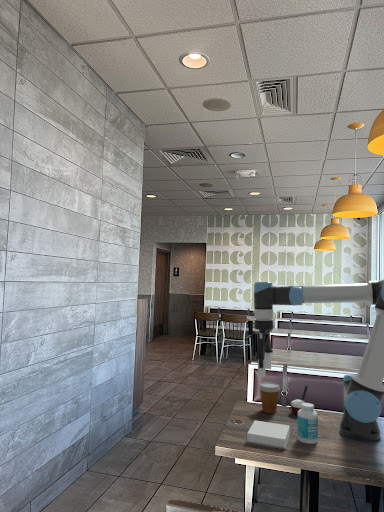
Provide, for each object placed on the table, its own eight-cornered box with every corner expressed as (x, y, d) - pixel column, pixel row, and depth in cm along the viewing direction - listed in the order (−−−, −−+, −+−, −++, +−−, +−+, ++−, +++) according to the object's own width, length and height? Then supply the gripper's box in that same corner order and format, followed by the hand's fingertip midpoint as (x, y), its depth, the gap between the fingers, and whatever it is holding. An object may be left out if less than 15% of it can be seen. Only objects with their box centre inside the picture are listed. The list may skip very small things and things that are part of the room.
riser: (290, 434, 150) (290, 425, 150) (285, 449, 136) (285, 439, 137) (254, 428, 155) (254, 420, 155) (246, 442, 141) (246, 433, 142)
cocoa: (290, 416, 171) (289, 389, 171) (287, 411, 177) (286, 385, 177) (311, 416, 170) (310, 389, 171) (307, 410, 176) (306, 385, 177)
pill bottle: (310, 446, 139) (310, 409, 140) (293, 440, 145) (293, 404, 146) (321, 441, 144) (321, 405, 145) (304, 434, 150) (304, 400, 150)
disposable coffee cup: (280, 415, 171) (280, 388, 171) (258, 413, 173) (258, 386, 173) (279, 408, 180) (279, 382, 181) (259, 406, 182) (259, 381, 183)
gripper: (260, 316, 167) (261, 365, 166) (247, 322, 144) (249, 379, 142) (277, 317, 164) (278, 366, 163) (267, 323, 141) (269, 380, 140)
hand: (264, 372), depth 153 cm, fingers open, 13 cm apart
